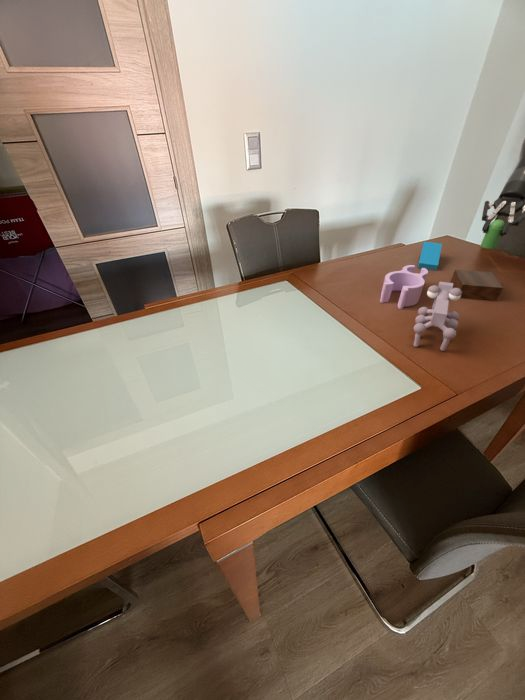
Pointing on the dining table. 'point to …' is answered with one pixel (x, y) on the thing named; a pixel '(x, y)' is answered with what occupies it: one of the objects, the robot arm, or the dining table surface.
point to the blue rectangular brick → (430, 255)
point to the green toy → (493, 234)
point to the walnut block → (477, 284)
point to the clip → (404, 285)
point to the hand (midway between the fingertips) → (493, 233)
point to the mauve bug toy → (439, 313)
